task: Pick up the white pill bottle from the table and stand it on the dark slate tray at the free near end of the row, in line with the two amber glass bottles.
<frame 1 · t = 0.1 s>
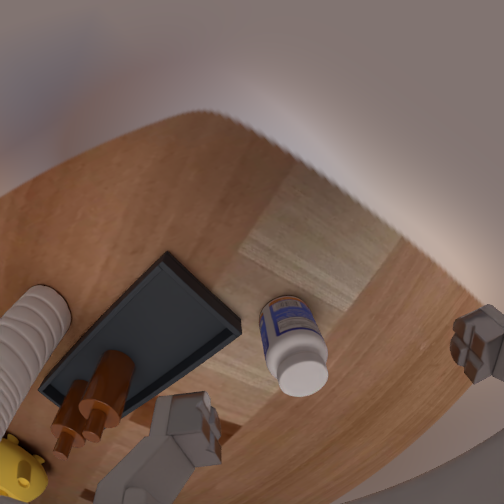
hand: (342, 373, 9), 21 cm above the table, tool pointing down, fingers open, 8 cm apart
tray: (123, 357, 33), on the table
water bottle: (41, 306, 30), on the table
pill bottle: (284, 316, 33), on the table
amber bottle 1: (85, 391, 34), point 1 cm above the table, touching tray
teapot: (24, 448, 41), on the table
amber bottle 2: (117, 364, 33), point 1 cm above the table, touching tray
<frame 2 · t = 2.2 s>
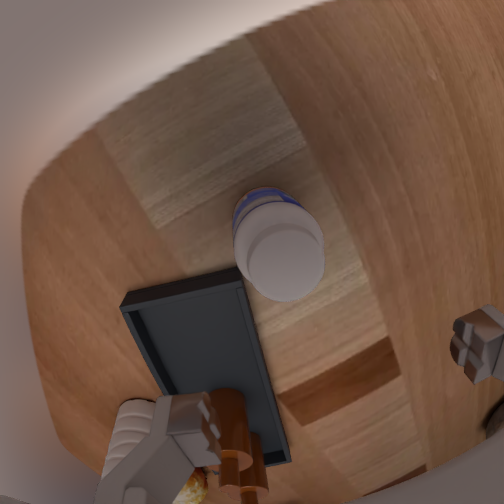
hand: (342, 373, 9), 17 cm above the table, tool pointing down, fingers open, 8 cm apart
fruit: (172, 467, 37), on the table
tray: (223, 391, 31), on the table
water bottle: (142, 418, 32), on the table
pill bottle: (265, 218, 25), on the table
amber bottle 1: (243, 440, 34), point 1 cm above the table, touching tray
amber bottle 2: (225, 401, 31), point 1 cm above the table, touching tray
bowl: (503, 405, 43), on the table
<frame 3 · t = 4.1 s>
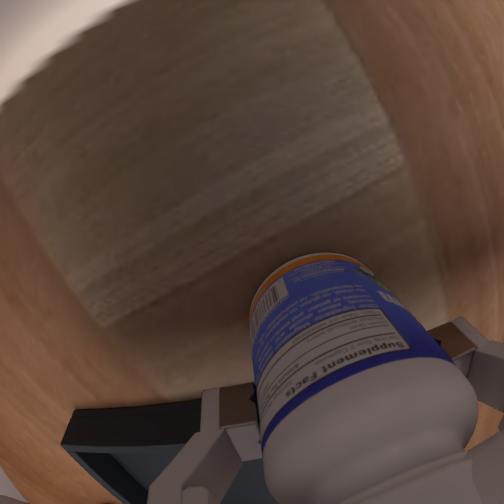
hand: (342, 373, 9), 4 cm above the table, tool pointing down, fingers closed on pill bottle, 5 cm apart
pill bottle: (313, 309, 12), on the table, touching gripper
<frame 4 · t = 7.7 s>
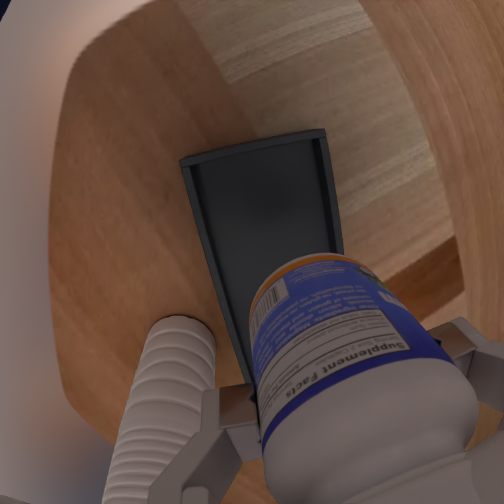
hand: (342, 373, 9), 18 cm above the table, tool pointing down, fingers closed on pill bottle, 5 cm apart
tray: (283, 299, 28), on the table
water bottle: (175, 348, 29), on the table
pill bottle: (314, 310, 12), point 14 cm above the table, touching gripper
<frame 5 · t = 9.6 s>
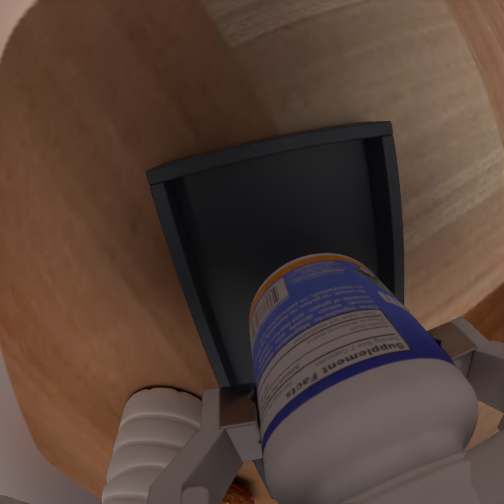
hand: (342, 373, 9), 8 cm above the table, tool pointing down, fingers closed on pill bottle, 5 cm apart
fruit: (202, 489, 25), on the table
tray: (309, 366, 19), on the table
water bottle: (162, 421, 20), on the table
pill bottle: (314, 310, 12), point 4 cm above the table, touching gripper
when the fingers open (4 cm above the table, at t = 11.1 s): pill bottle stays where it is, resting on tray.
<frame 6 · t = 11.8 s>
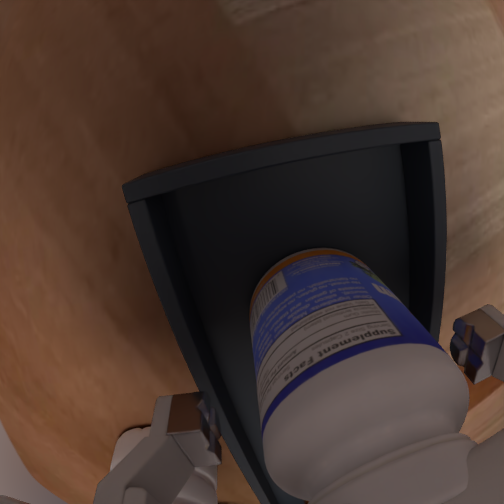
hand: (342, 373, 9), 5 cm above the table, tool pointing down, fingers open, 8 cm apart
tray: (323, 404, 16), on the table
water bottle: (159, 457, 17), on the table
pill bottle: (312, 303, 13), resting on tray
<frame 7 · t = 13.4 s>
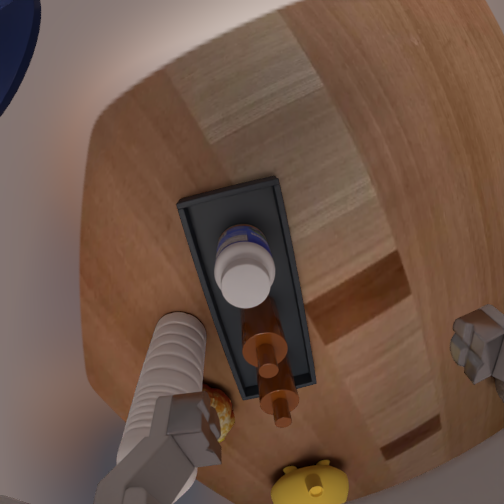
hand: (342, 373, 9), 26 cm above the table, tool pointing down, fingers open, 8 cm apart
fruit: (199, 400, 43), on the table
tray: (256, 299, 37), on the table
water bottle: (176, 337, 39), on the table
pill bottle: (242, 246, 35), resting on tray
amber bottle 1: (271, 359, 40), point 1 cm above the table, touching tray
teapot: (306, 468, 52), on the table
amber bottle 2: (258, 309, 37), point 1 cm above the table, touching tray
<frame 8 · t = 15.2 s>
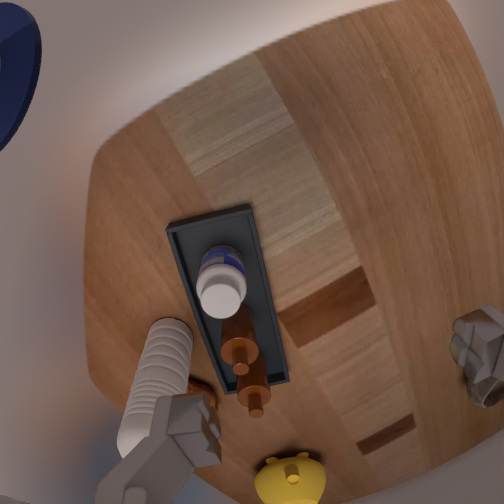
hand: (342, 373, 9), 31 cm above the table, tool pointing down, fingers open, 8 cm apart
fruit: (187, 395, 49), on the table
tray: (235, 308, 43), on the table
water bottle: (167, 339, 45), on the table
pill bottle: (222, 263, 40), resting on tray
amber bottle 1: (249, 359, 46), point 1 cm above the table, touching tray
teapot: (287, 459, 58), on the table
amber bottle 2: (237, 316, 43), point 1 cm above the table, touching tray
bowl: (482, 360, 54), on the table
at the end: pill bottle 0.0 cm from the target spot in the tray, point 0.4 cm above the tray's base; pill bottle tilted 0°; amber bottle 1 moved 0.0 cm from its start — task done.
